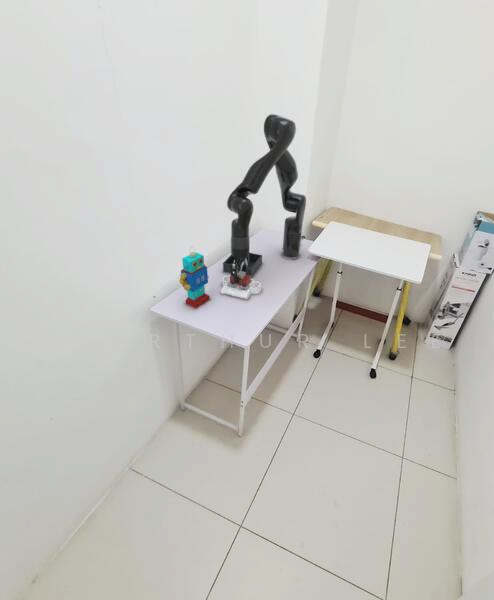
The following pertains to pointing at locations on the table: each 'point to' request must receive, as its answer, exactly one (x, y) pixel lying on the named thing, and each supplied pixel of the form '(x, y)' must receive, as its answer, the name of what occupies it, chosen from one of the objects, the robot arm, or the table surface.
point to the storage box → (252, 266)
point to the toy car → (242, 279)
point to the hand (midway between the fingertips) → (240, 278)
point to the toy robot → (194, 279)
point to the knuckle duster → (237, 291)
